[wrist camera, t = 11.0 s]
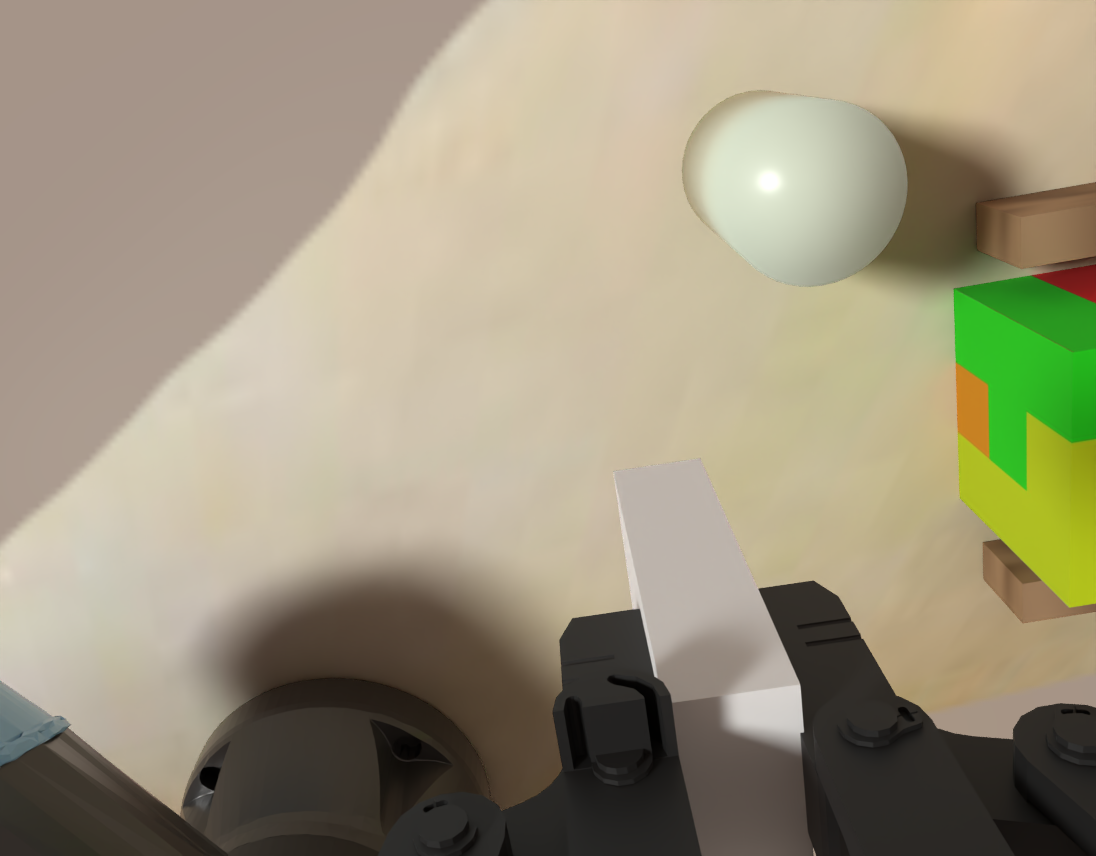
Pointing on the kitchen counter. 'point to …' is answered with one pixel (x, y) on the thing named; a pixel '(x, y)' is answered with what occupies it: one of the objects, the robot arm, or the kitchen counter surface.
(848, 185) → the cream egg shape
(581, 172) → the kitchen counter surface
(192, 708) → the kitchen counter surface
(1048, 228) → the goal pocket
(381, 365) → the kitchen counter surface
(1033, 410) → the puzzle toy
